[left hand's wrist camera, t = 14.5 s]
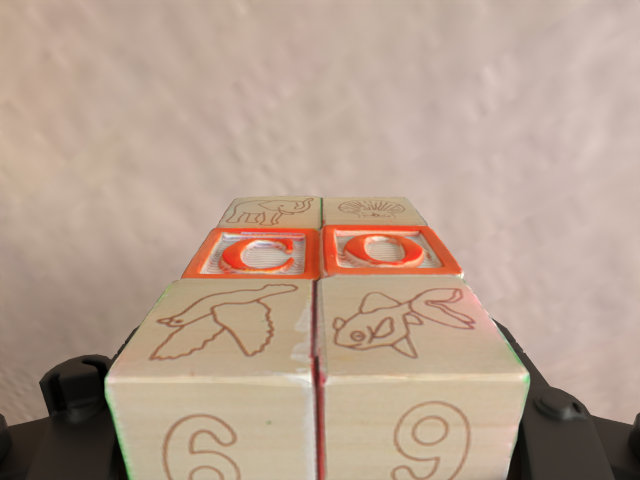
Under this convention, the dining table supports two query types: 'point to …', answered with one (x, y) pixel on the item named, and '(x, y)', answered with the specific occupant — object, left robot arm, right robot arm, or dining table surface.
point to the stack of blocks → (318, 355)
